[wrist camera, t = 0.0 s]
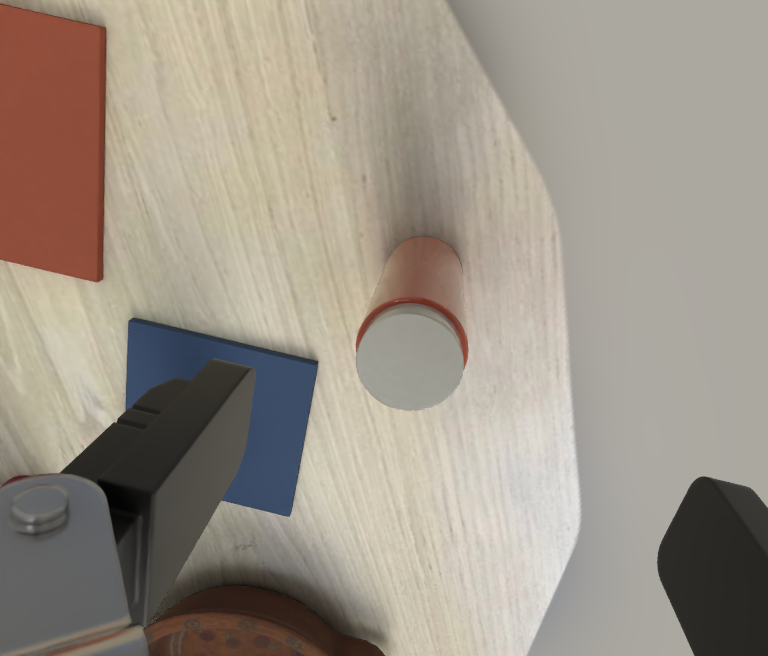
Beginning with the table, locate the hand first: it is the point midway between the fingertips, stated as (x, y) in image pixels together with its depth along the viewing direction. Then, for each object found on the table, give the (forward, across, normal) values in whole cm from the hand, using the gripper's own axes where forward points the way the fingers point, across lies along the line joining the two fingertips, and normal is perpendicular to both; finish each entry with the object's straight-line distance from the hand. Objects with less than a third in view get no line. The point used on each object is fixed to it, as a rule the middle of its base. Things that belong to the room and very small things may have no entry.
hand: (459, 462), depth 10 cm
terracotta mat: (+22, +27, +1) cm, 35 cm away
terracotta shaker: (+22, +1, +3) cm, 23 cm away
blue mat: (+22, +12, +16) cm, 30 cm away
